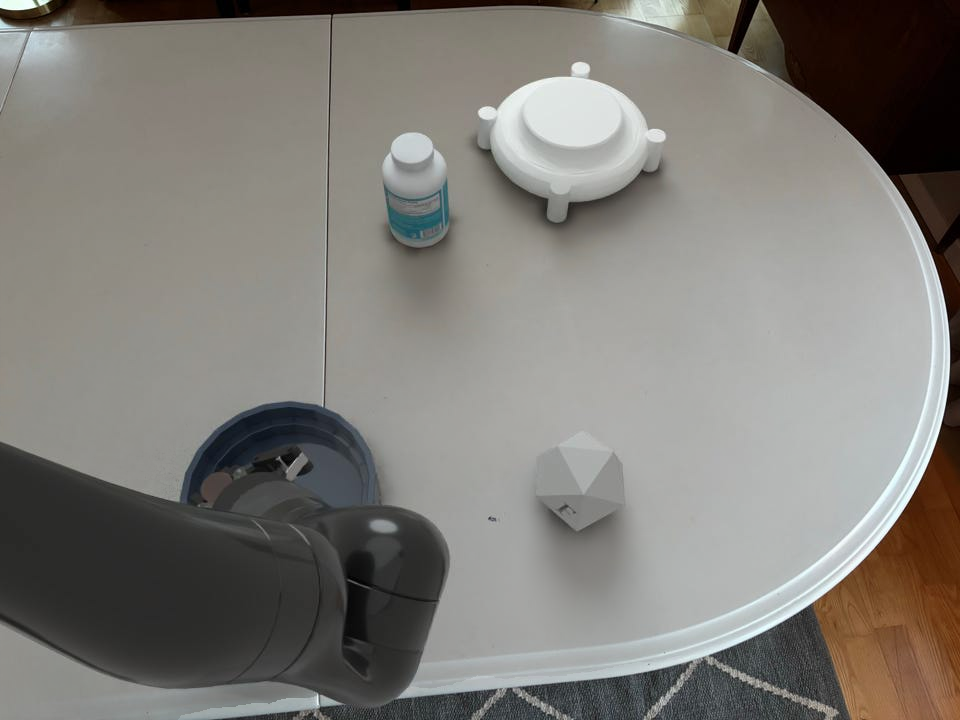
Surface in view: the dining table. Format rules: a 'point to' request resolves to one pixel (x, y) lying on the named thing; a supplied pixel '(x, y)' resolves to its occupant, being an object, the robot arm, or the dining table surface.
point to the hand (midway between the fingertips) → (214, 489)
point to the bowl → (314, 429)
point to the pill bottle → (416, 191)
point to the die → (580, 480)
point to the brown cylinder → (214, 485)
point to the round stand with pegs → (569, 139)
